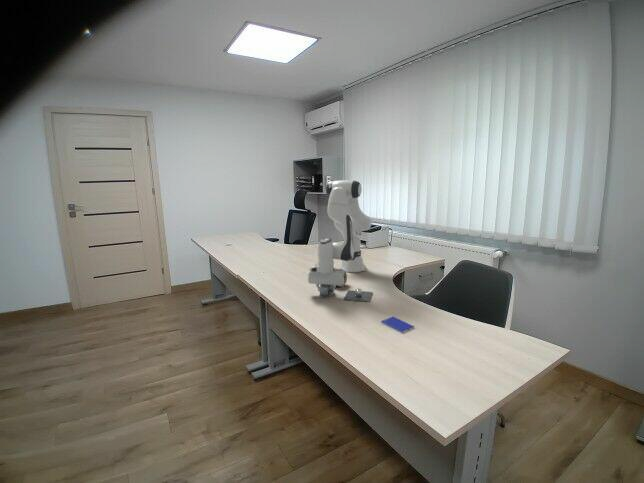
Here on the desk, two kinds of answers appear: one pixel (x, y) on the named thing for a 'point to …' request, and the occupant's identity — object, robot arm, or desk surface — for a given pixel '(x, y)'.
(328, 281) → the robot arm
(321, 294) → the stepped gray block
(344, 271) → the clay pipe
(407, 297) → the desk surface
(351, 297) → the duct plate
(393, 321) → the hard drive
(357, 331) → the desk surface
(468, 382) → the desk surface
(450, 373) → the desk surface
